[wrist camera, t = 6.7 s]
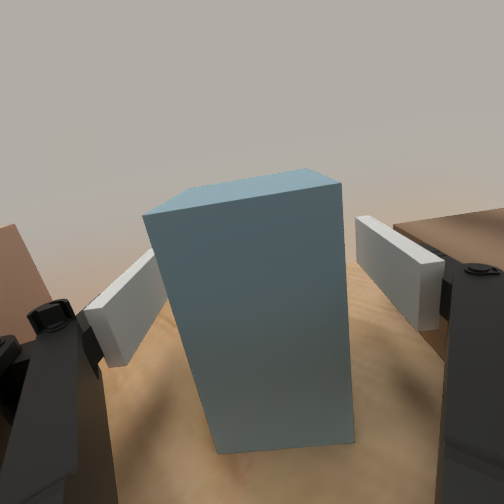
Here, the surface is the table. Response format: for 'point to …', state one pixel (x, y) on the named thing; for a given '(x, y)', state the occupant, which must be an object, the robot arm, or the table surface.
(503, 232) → the base block
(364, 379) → the table surface
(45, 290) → the clay brick
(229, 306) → the blue brick
